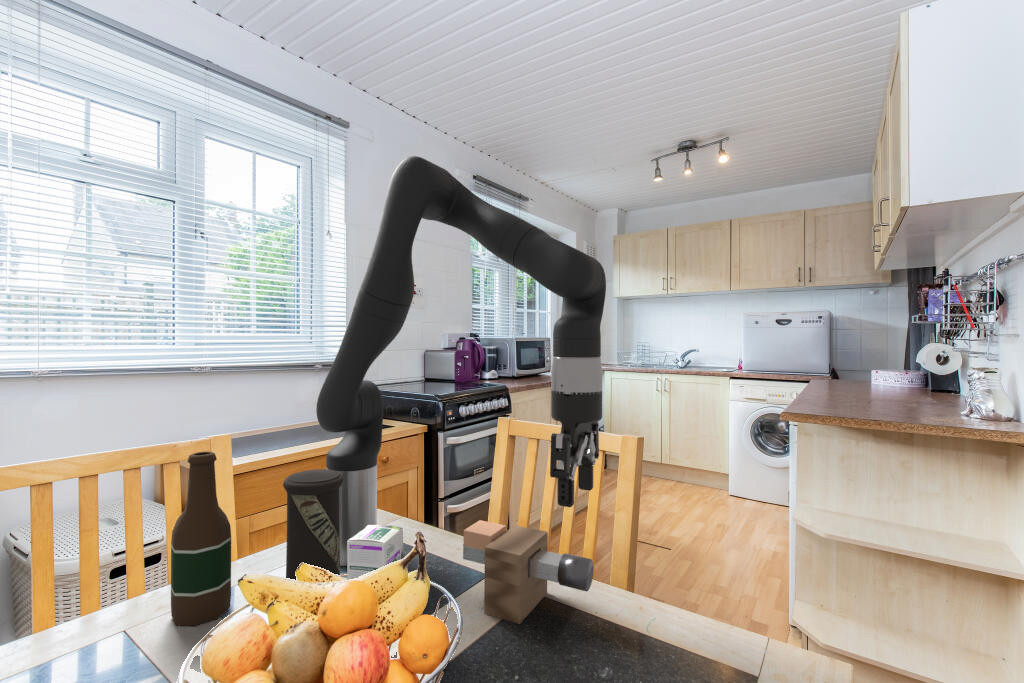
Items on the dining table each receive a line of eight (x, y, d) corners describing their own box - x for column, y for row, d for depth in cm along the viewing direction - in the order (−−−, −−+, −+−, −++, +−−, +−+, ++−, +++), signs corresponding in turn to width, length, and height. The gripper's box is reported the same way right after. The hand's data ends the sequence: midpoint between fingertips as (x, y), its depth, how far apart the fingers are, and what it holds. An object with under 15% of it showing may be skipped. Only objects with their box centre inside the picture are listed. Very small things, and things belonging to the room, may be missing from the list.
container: (306, 619, 72) (307, 483, 72) (270, 602, 77) (271, 474, 77) (354, 593, 79) (354, 470, 79) (318, 579, 84) (319, 462, 84)
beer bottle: (242, 607, 75) (243, 450, 75) (191, 634, 68) (192, 462, 68) (210, 595, 79) (210, 445, 78) (157, 620, 71) (158, 456, 71)
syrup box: (386, 652, 65) (387, 542, 65) (345, 646, 66) (346, 538, 66) (404, 627, 70) (405, 526, 70) (366, 622, 71) (367, 522, 71)
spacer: (463, 545, 79) (463, 530, 79) (479, 534, 83) (479, 520, 83) (490, 552, 76) (490, 536, 76) (505, 540, 81) (505, 525, 81)
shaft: (462, 565, 79) (462, 538, 79) (476, 555, 83) (476, 529, 83) (583, 597, 70) (583, 566, 70) (593, 583, 74) (593, 554, 74)
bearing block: (484, 613, 74) (484, 547, 74) (514, 584, 83) (514, 525, 83) (519, 624, 71) (520, 555, 71) (547, 592, 80) (547, 531, 80)
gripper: (569, 383, 81) (569, 481, 81) (533, 390, 68) (532, 507, 68) (614, 385, 77) (614, 488, 77) (585, 393, 64) (584, 516, 64)
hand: (576, 497), depth 72 cm, fingers open, 8 cm apart
